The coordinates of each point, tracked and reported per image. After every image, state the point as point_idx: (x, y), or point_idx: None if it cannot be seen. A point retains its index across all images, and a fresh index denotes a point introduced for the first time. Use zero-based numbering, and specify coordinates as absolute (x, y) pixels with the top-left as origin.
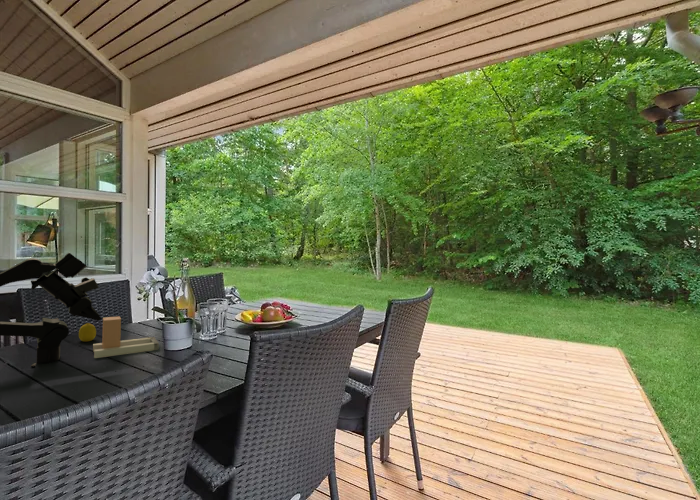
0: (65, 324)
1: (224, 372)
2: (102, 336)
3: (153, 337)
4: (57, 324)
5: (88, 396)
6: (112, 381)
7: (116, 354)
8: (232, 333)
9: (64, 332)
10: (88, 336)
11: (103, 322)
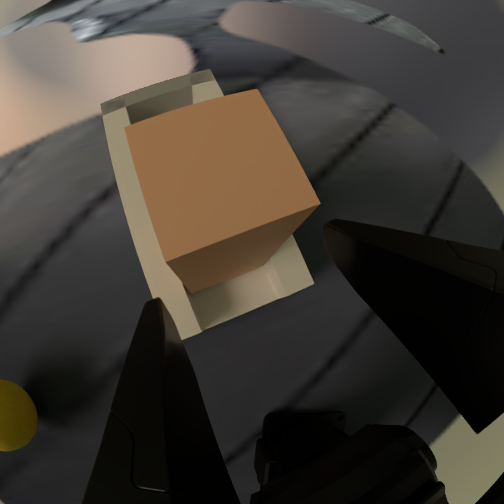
0: (356, 489)
1: (368, 16)
2: (195, 282)
3: (108, 102)
4: (437, 481)
5: (496, 208)
6: (447, 179)
7: None
8: (73, 6)
9: (408, 429)
10: (27, 405)
11: (271, 228)
